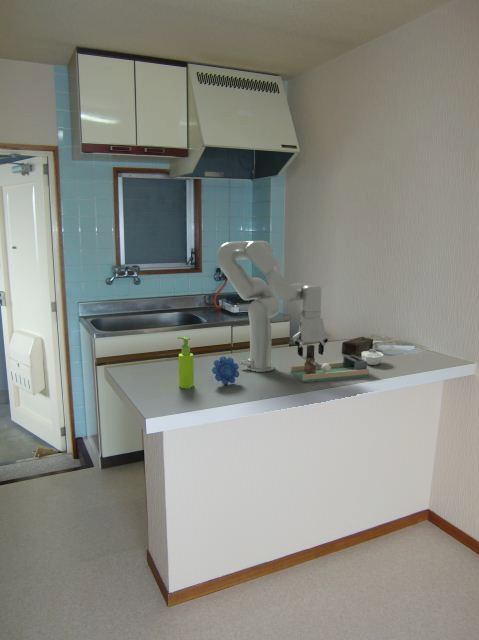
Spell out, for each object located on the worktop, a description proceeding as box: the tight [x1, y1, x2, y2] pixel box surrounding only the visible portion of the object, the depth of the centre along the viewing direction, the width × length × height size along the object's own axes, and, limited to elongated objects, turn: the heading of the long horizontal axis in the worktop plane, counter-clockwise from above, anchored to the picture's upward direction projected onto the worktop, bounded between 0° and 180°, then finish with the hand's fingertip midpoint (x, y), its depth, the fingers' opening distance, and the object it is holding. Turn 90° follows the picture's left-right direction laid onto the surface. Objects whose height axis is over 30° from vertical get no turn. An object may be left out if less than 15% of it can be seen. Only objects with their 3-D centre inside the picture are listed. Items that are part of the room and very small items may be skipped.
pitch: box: [289, 361, 369, 384], centre depth 219 cm, size 30×14×3 cm, turn 107°
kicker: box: [300, 344, 321, 374], centre depth 215 cm, size 3×19×12 cm, turn 17°
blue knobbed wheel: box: [211, 355, 240, 386], centre depth 204 cm, size 12×7×12 cm, turn 112°
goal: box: [342, 354, 368, 370], centre depth 222 cm, size 6×11×6 cm, turn 17°
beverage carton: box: [341, 336, 374, 357], centre depth 258 cm, size 8×19×7 cm, turn 138°
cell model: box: [361, 348, 384, 366], centre depth 236 cm, size 10×12×7 cm
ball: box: [321, 362, 331, 373], centre depth 218 cm, size 4×4×4 cm
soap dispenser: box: [176, 336, 195, 389], centre depth 203 cm, size 6×7×20 cm
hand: (310, 354), depth 215 cm, fingers open, 8 cm apart
